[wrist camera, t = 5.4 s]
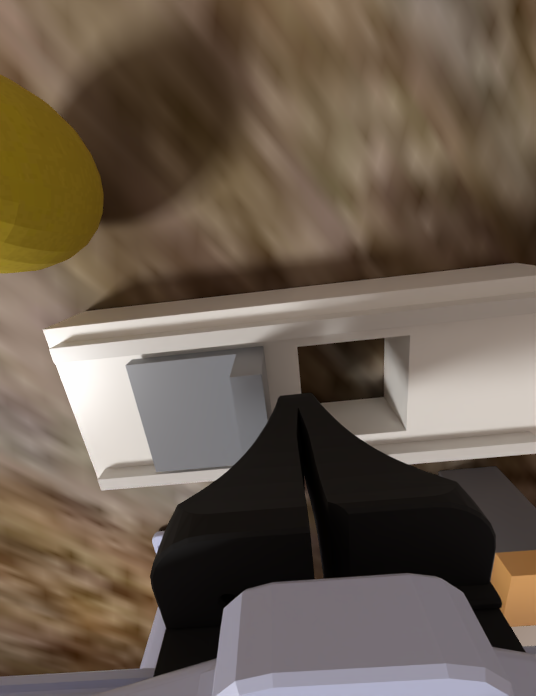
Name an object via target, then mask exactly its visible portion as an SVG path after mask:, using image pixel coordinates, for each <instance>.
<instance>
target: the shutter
mask: <svg viewBox="0 0 536 696" xmlns="http://www.w3.org/2000/svg"><path fill="white" fill-rule="evenodd" d="M125 366H126V369H127V373H128V376H129V380H130V383H131V387H132V390H133V394H134V397H135V401H136V404H137V407H138V411H139V414H140V418H141V421H142V425H143V428H144V432H145V435H146V438H147V442H148V445H149V449H150V452H151V456H152V459H153V463H154V466H155V470H156V472H164V471H176V470H187V469H199V468H210V467H222V466H233V465H234V464H235V463H236V462H237V461H238V460H239V459H240V458H241V457H242V456H243V455H244V454H245V453H246V452H247V451H248V449H249V448H250V447H251V446H252V444H253V443H254V442H255V440H256V439H257V438H258V436H259V435H260V433H261V432H262V430H263V429H264V427H265V425H266V424H267V422H268V420H269V418H270V416H271V414H272V410H271V402H270V394H269V386H268V379H267V371H266V363H265V355H264V347H263V346H256V347H246V348H237V349H227V350H218V351H208V352H198V353H189V354H179V355H170V356H160V357H150V358H141V359H132V360H131V361H130V362H129V363H127V364H126V365H125Z"/></svg>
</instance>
